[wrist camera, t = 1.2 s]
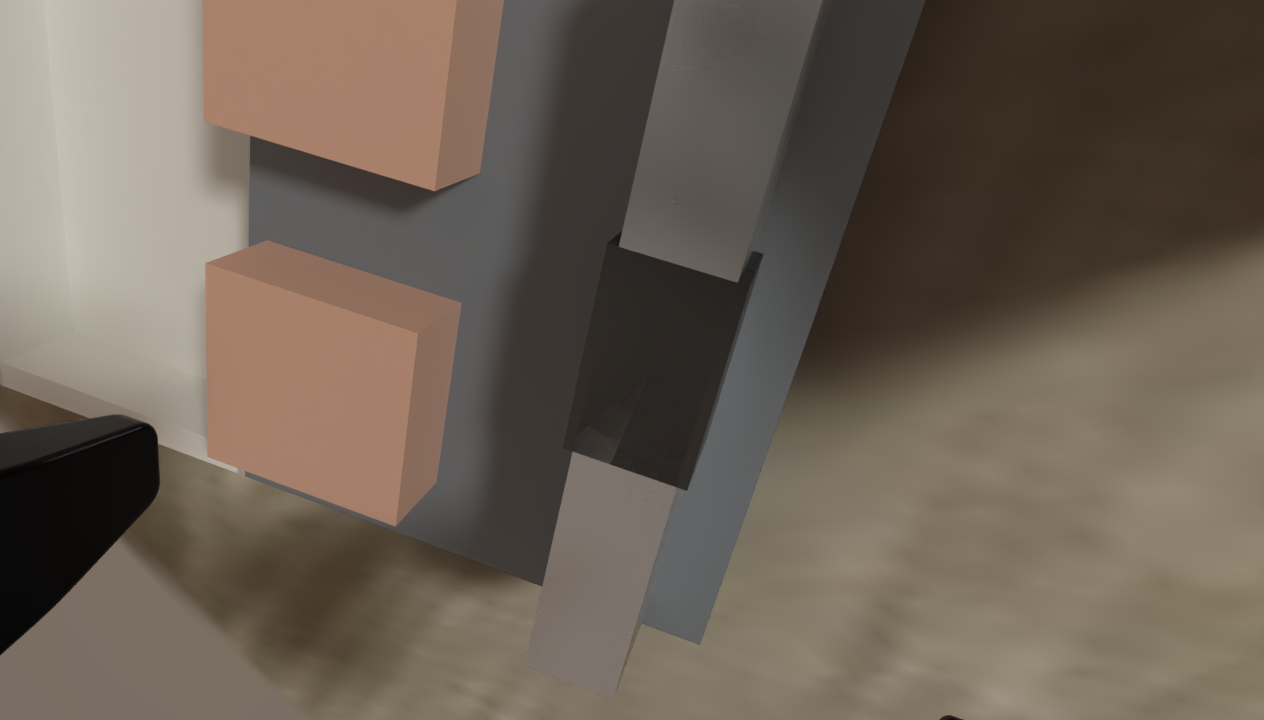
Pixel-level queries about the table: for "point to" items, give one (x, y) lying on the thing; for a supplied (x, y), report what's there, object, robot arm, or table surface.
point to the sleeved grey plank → (668, 318)
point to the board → (587, 270)
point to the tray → (113, 210)
